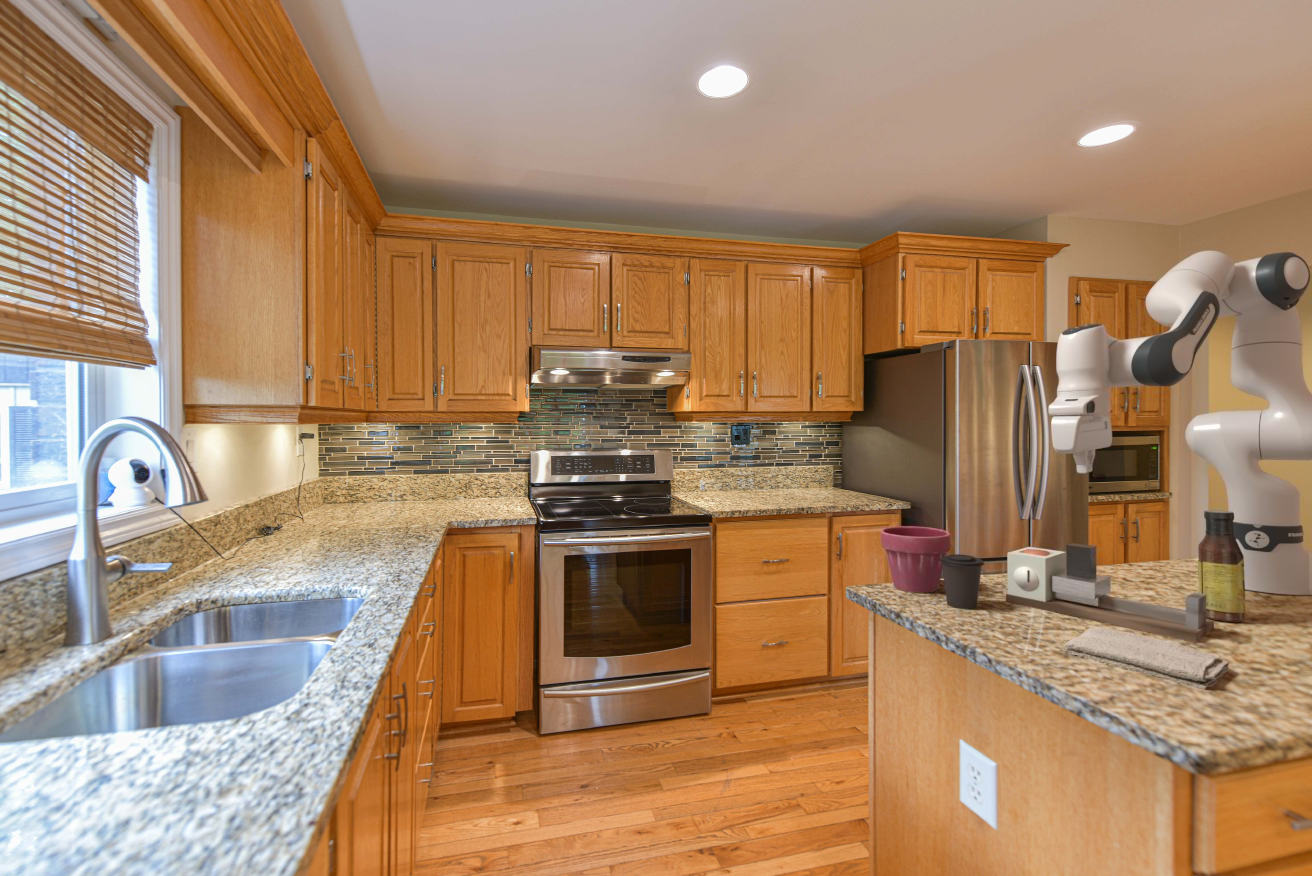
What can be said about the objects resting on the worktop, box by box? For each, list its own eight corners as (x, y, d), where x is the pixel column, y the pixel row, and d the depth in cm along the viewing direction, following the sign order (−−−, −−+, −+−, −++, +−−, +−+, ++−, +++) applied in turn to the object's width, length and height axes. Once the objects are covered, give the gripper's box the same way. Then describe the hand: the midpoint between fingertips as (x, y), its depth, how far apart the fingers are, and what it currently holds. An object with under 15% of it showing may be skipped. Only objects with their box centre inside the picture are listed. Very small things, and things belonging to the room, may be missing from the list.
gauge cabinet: (1029, 593, 128) (1029, 546, 128) (1066, 600, 122) (1066, 552, 122) (1006, 601, 122) (1006, 553, 122) (1044, 609, 116) (1044, 558, 116)
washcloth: (1212, 696, 80) (1212, 673, 80) (1059, 656, 94) (1059, 637, 94) (1232, 673, 87) (1232, 652, 87) (1087, 639, 101) (1087, 621, 101)
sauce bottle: (1254, 624, 107) (1255, 514, 106) (1214, 622, 108) (1214, 513, 108) (1227, 613, 113) (1228, 509, 113) (1189, 612, 114) (1189, 508, 114)
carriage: (1069, 592, 121) (1069, 540, 121) (1110, 600, 115) (1110, 545, 115) (1052, 599, 117) (1052, 545, 116) (1094, 607, 111) (1094, 551, 111)
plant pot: (880, 592, 130) (879, 534, 130) (881, 577, 143) (881, 524, 143) (953, 599, 124) (953, 538, 124) (948, 583, 137) (948, 527, 137)
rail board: (1029, 592, 129) (1029, 562, 128) (1213, 628, 104) (1214, 592, 104) (1005, 601, 122) (1005, 570, 122) (1196, 642, 98) (1196, 603, 98)
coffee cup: (983, 613, 114) (983, 561, 114) (937, 607, 119) (936, 557, 119) (985, 603, 121) (985, 554, 121) (941, 597, 126) (941, 550, 125)
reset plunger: (1030, 574, 125) (1029, 548, 125) (1053, 579, 122) (1053, 551, 122) (1020, 578, 123) (1020, 551, 123) (1044, 582, 119) (1044, 554, 119)
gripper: (1085, 403, 130) (1086, 467, 130) (1044, 407, 118) (1045, 476, 119) (1120, 402, 125) (1121, 468, 125) (1081, 405, 113) (1082, 478, 113)
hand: (1084, 472), depth 122 cm, fingers closed
